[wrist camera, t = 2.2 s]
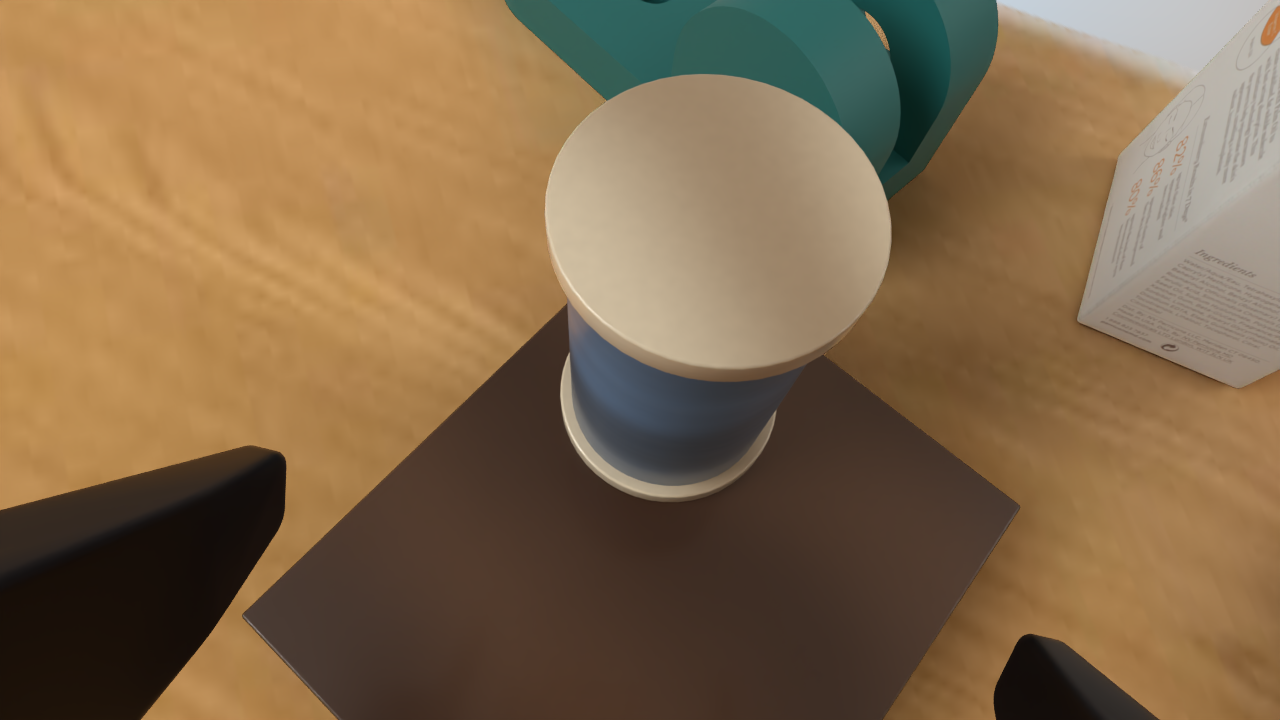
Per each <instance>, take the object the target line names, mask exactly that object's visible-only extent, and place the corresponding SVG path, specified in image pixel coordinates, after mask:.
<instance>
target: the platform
mask: <svg viewBox="0 0 1280 720" xmlns="http://www.w3.org/2000/svg"><path fill="white" fill-rule="evenodd" d="M569 352H570V348H569V327H568V306H567V304H566V305H565V306H564V307H563V308H562V309H561V310H560V311H559V312H558V313H557V314H556V315H555V316H554V317H553V318H552V319H551V320H550V321H548V322H547V323H546V324H545V325H544V326H543V327H542V328H541V329H540V330H539V331H538V332H537V333H536V334H535V335H534V336H533V337H532V338H531V339H530V340H529V341H528V342H527V343H525V344H524V345H523V346H522V347H521V348H520V349H519V350H518V351H517V352H516V353H515V354H514V355H513V356H512V357H511V358H510V359H509V360H508V361H507V362H506V363H505V364H504V365H502V366H501V367H500V368H499V369H498V370H497V371H496V372H495V373H494V374H493V375H492V376H491V377H490V378H489V379H488V380H487V381H486V382H485V383H484V384H483V385H482V386H481V387H479V388H478V389H477V390H476V391H475V392H474V393H473V394H472V395H471V396H470V397H469V398H468V399H467V400H466V401H465V402H464V403H463V404H462V405H461V406H460V407H459V408H458V409H456V410H455V411H454V412H453V413H452V414H451V415H450V416H449V417H448V418H447V419H446V420H445V421H444V422H443V423H442V424H441V425H440V426H439V427H438V428H437V429H436V430H435V431H433V432H432V433H431V434H430V435H429V436H428V437H427V438H426V439H425V440H424V441H423V442H422V443H421V444H420V445H419V446H418V447H417V448H416V449H415V450H414V451H413V452H412V453H410V454H409V455H408V456H407V457H406V458H405V459H404V460H403V461H402V462H401V463H400V464H399V465H398V466H397V467H396V468H395V469H394V470H393V471H392V472H391V473H390V474H389V475H387V476H386V477H385V478H384V479H383V480H382V481H381V482H380V483H379V484H378V485H377V486H376V487H375V488H374V489H373V490H372V491H371V492H370V493H369V494H368V495H367V496H366V497H365V498H363V499H362V500H361V501H360V502H359V503H358V504H357V505H356V506H355V507H354V508H353V509H352V510H351V511H350V512H349V513H348V514H347V515H346V516H345V517H344V518H343V519H342V520H340V521H339V522H338V523H337V524H336V525H335V526H334V527H333V528H332V529H331V530H330V531H329V532H328V533H327V534H326V535H325V536H324V537H323V538H322V539H321V540H320V541H319V542H317V543H316V544H315V545H314V546H313V547H312V548H311V549H310V550H309V551H308V552H307V553H306V554H305V555H304V556H303V557H302V558H301V559H300V560H299V561H298V562H297V563H296V564H294V565H293V566H292V567H291V568H290V569H289V570H288V571H287V572H286V573H285V574H284V575H283V576H282V577H281V578H280V579H279V580H278V581H277V582H276V583H275V584H274V585H273V586H271V587H270V588H269V589H268V590H267V591H266V592H265V593H264V594H263V595H262V596H261V597H260V598H259V599H258V600H257V601H256V602H255V603H254V604H253V605H252V606H251V607H250V608H248V609H247V610H246V611H245V612H244V613H243V615H242V617H243V619H244V620H245V621H246V622H247V623H248V624H249V625H250V626H251V627H252V628H253V629H254V630H255V632H256V633H257V634H258V635H259V636H260V637H261V638H262V639H263V640H264V641H265V642H266V643H267V644H268V645H269V646H270V648H271V649H272V650H273V651H274V652H275V653H276V654H277V655H278V656H279V657H280V658H281V659H282V660H283V661H284V663H285V664H286V665H287V666H288V667H289V668H290V669H291V670H292V671H293V672H294V673H295V674H296V675H297V676H298V677H299V679H300V680H301V681H302V682H303V683H304V684H305V685H306V686H307V687H308V688H309V689H310V690H311V691H312V692H313V694H314V695H315V696H316V697H317V698H318V699H319V700H320V701H321V702H322V703H323V704H324V705H325V706H326V707H327V708H328V710H329V711H330V712H331V713H332V714H333V715H334V716H335V717H336V718H337V719H338V720H883V718H884V717H885V715H886V714H887V712H888V711H889V709H890V708H891V706H892V705H893V703H894V701H895V700H896V698H897V697H898V695H899V694H900V692H901V691H902V689H903V688H904V686H905V685H906V683H907V681H908V680H909V678H910V677H911V675H912V674H913V672H914V671H915V669H916V668H917V666H918V665H919V663H920V662H921V660H922V658H923V657H924V655H925V654H926V652H927V651H928V649H929V648H930V646H931V645H932V643H933V642H934V640H935V638H936V637H937V635H938V634H939V632H940V631H941V629H942V628H943V626H944V625H945V623H946V622H947V620H948V618H949V617H950V615H951V614H952V612H953V611H954V609H955V608H956V606H957V605H958V603H959V602H960V600H961V598H962V597H963V595H964V594H965V592H966V591H967V589H968V588H969V586H970V585H971V583H972V582H973V580H974V578H975V577H976V575H977V574H978V572H979V571H980V569H981V568H982V566H983V565H984V563H985V562H986V560H987V559H988V557H989V555H990V554H991V552H992V551H993V549H994V548H995V546H996V545H997V543H998V542H999V540H1000V539H1001V537H1002V535H1003V534H1004V532H1005V531H1006V529H1007V528H1008V526H1009V525H1010V523H1011V522H1012V520H1013V519H1014V517H1015V515H1016V514H1017V512H1018V511H1019V509H1020V505H1018V504H1017V503H1016V502H1015V501H1013V500H1012V499H1011V498H1009V497H1008V496H1007V495H1005V494H1004V493H1003V492H1001V491H1000V490H999V489H998V488H996V487H995V486H994V485H992V484H991V483H990V482H988V481H987V480H986V479H984V478H983V477H982V476H981V475H979V474H978V473H977V472H975V471H974V470H973V469H971V468H970V467H969V466H967V465H966V464H965V463H964V462H962V461H961V460H960V459H958V458H957V457H956V456H954V455H953V454H952V453H951V452H949V451H948V450H947V449H945V448H944V447H943V446H941V445H940V444H939V443H937V442H936V441H935V440H934V439H932V438H931V437H930V436H928V435H927V434H926V433H924V432H923V431H922V430H920V429H919V428H918V427H917V426H915V425H914V424H913V423H911V422H910V421H909V420H907V419H906V418H905V417H903V416H902V415H901V414H900V413H898V412H897V411H896V410H894V409H893V408H892V407H890V406H889V405H888V404H886V403H885V402H884V401H883V400H881V399H880V398H879V397H877V396H876V395H875V394H873V393H872V392H871V391H869V390H868V389H867V388H866V387H864V386H863V385H862V384H860V383H859V382H858V381H856V380H855V379H854V378H852V377H851V376H850V375H849V374H847V373H846V372H845V371H843V370H842V369H841V368H839V367H838V366H837V365H835V364H834V363H833V362H832V361H830V360H829V359H828V358H826V357H825V356H824V355H821V356H820V357H818V358H816V359H814V360H812V361H811V362H809V363H807V365H806V366H805V368H804V369H803V371H802V372H801V374H800V375H799V377H798V378H797V380H796V381H795V382H794V384H793V385H792V387H791V388H790V390H789V391H788V393H787V394H786V396H785V397H784V399H783V400H782V402H781V403H780V405H779V406H778V408H777V410H776V417H775V422H774V426H773V429H772V432H771V435H770V438H769V440H768V442H767V444H766V445H765V447H764V449H763V451H762V452H761V454H760V455H759V456H758V458H757V459H756V461H755V462H754V463H753V465H752V466H751V467H750V468H749V469H748V470H747V471H746V472H745V473H744V474H743V475H742V476H741V477H740V478H739V479H737V480H736V481H735V482H734V483H732V484H731V485H729V486H728V487H726V488H724V489H722V490H721V491H719V492H716V493H714V494H712V495H709V496H707V497H703V498H700V499H696V500H692V501H684V502H658V501H651V500H646V499H642V498H639V497H635V496H632V495H630V494H627V493H625V492H623V491H620V490H619V489H617V488H615V487H613V486H612V485H610V484H608V483H607V482H606V481H604V480H603V479H602V478H600V477H599V476H598V475H596V474H595V473H594V472H593V471H592V470H591V469H590V468H589V467H588V466H587V465H586V463H585V462H584V461H583V460H582V458H581V457H580V456H579V454H578V453H577V451H576V450H575V448H574V446H573V444H572V443H571V441H570V438H569V436H568V433H567V431H566V428H565V424H564V420H563V416H562V409H561V398H560V389H561V378H562V373H563V368H564V365H565V362H566V359H567V356H568V354H569Z"/></svg>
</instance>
